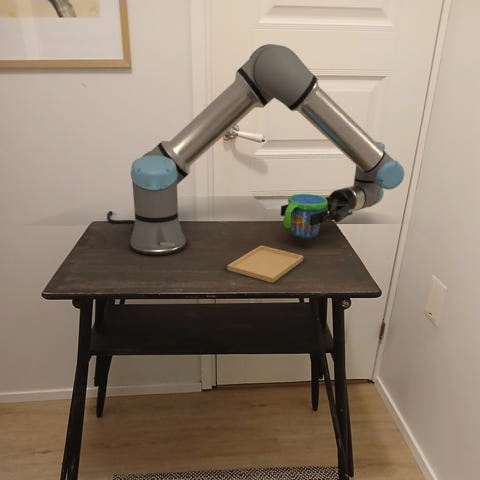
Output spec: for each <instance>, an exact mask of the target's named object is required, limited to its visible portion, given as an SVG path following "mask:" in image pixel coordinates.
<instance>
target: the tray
mask: <svg viewBox="0 0 480 480" xmlns="http://www.w3.org/2000/svg"><path fill="white" fill-rule="evenodd" d="M303 261H304V255H301V254H297V253H294V252H290V251H286V250H282V249H277V248H274V247H269V246H266V245H259V246H258V247H256V248H254V249H252V250H251V251H249V252H247V253H246V254H244V255H242V256H241V257H239V258H238V259H235V260H234V261H232V262H230V263H229V264H227V266H226V267H227V268H226V269H227V271H229V272H233V273H237V274H240V275H244V276H247V277H251V278H254V279H258V280H260V281H261V280H262V281H264V282H267V283H272V284H274V283H275V282H276V281H278V280H279V279H280V278H282V277H283V276H284V275H286V274H287V273H288V272H289V271H292V269H294V268H295V267H296V266H298V265H299V264H301V263H302V262H303Z"/></svg>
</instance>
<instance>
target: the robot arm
mask: <svg viewBox="0 0 480 480" xmlns="http://www.w3.org/2000/svg"><path fill="white" fill-rule="evenodd" d="M274 99H275V100H277V101H278V102H280V103H281V104H283V105H284V106H285V107H286V108H288V109H289V110H290V111H291V112H298V113H299V114H300V115H301V116H302V117H303V118H304V119H305V120H306V121H308V122H309V124H311V125H312V126H313V127H314V128H316V129H317V130H318V131H319V132H320V133H321V134H322V135H323V136H324V137H325V138H326V139H327V140H328V141H330V143H331V144H333V145H334V146H335V147H336V148H337V149H338V150H339V151H340V152H341V153H343V154H344V155H345V157H347V158H348V159H349V160H350V161H351V162H352V163H353V164H355V171H354V177H353V179H354V180H353V185H350V186H346V187H343V188H339V189H335V190H333V191H332V192H331V193H330V194H329V195H328V196H325V197H324V198H326V199H327V203H328V204H327V205H328V211H323V212H320V213H316V214H313V215H310V226H313V225H316V224H319V223H321V224H322V223H325V222H333V221H334V223H340V222H342V221H343V220H344V219H346V218H347V217H349V216H352V215H353V213H354V212H356V211H359V210H363V209H366V208H371V207H373V206H375V205H377V204H378V203H380V202H381V201H382V199H383V198H384V193H385V191H384V190H394V189H396V188H398V187H399V186H400V185H401V184H402V182H403V181H404V178H405V169H404V166H403V165H402V164H400V162H399V161H397V160H395V159H393V157H391V156H390V155H389V153H387V152H386V151H385V149H386V145H385V144H384V142H381V141H375V140H374V139H373V138H372V137H371V136H370V134H368V133H367V132H366V131H365V130H364V129H363V128H362V127H361V126H360V125H359V124H358V123H357V122H356V121H355V120H354V119H353V118H352V117H351V116H350V115H349V114H347V112H346V111H344V109H343V108H342V107H341V106H340V105H338V104H337V103H336V101H334V99H332V98H331V96H329V95H328V94H327V93H326V91H324V89H322V88H321V87H320V86H319V79H318V77H317V76H315V74H313V72H312V71H311V70H310V69H309V68H308V67H307V65H306V64H304V62H303V61H302V60H301V58H300V57H299V56H298V55H297V54H296V52H295V51H293V50H292V49H291V48H290V47H287V46H285V45H280V44H274V43H267V44H263V45H261V46H259V47H257V48H256V49H255V50H253V52H252V53H251V55H250V56H249V58H248V60H247V61H246V62H245V63H243V64H242V65H241V66H240V67H239V68H238V69H237V70H236V71H235V78H234V81H233V82H232V83H231V84H229V86H227V87H226V89H225V90H223V91H222V92H221V93H220V94H219V95H218V96H217V97H216V98H214V100H212V101H211V102H210V103H209V104H208V105H207V106H206V107H205V108H204V109H203V110H202V111H201V112H200V113H199V114H197V116H196V117H194V118H193V119H192V120H191V121H190V122H189V123H188V124H186V126H184V128H183V129H181V131H179V132H178V133H177V134H176V135H174V137H172V138H171V140H161V141H160V142H159V143H158V144H157V145H155V147H154V148H152V149H151V150H150V151H148V152H146V153H144V154H143V155H142V156H141V157H139V158H136V159H134V161H132V163H131V167H130V168H131V169H130V178H131V182H132V193H133V194H132V195H133V207H134V208H133V209H134V219H135V220H133V219H112V218H111V216H112V215H113V211H112V210H109V211H108V213H107V215H106V220H108V222H109V223H113V224H124V223H125V224H127V223H128V224H133V228H132V233H131V236H130V248H131V250H132V251H133V252H135V253H138V254H141V255H145V256H155V257H157V256H159V257H160V256H167V255H174V254H176V253H179V252H181V251H183V250H184V249H185V248H186V245H187V244H186V243H187V242H186V236H185V234H184V232H183V230H182V226H181V222H180V220H179V207H178V206H179V204H178V202H179V201H178V185H179V184H180V183H181V182H182V181H183V180H184V179H186V178H187V177H188V176H189V175H190V174H191V165H193V164H194V163H195V162H196V161H197V160H199V158H200V157H201V156H203V154H205V153H206V152H207V151H208V150H210V149H211V147H213V146H214V145H216V143H217V142H218V141H219V140H221V139H222V137H224V136H226V134H227V133H228V132H229V131H231V130H232V129H233V128H234V127H235V126H236V125H237V124H238V123H239V122H241V121H242V120H243V119H244V118H245V117H246V116H247V115H248V114H249V113H251V111H253V110H254V109H255V108H259V109H262V108H265V106H267V105H268V104H269V103H270V102H271V101H272V100H274ZM288 205H289V203H287V204H283V205H281V206H280V216H281V217H284V216H285V212H286V209H287V207H288Z"/></svg>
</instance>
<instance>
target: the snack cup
mask: <svg viewBox="0 0 480 480" xmlns="http://www.w3.org/2000/svg"><path fill="white" fill-rule="evenodd" d="M287 202H288V203H287V204H289V205H288V207H287V209H286V212H285V216H283V221H282V222H283V227H285V228H286V229H290V231H291V234H292V235H293V236H294V237H295V238H296V237H298V238H301V239H312V238H315V237H316V236H318V235H319V231H320V228H321V225H322V223H319V224H316V225H313V226H310V215H313V214H316V213H320V212H323V211H328V205H327V204H328V203H327V199H326V198H325V197H324V196H322V195H317V194H311V193H298V194H292V195H290V196H289V197H288V198H287ZM328 212H329V211H328Z"/></svg>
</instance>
